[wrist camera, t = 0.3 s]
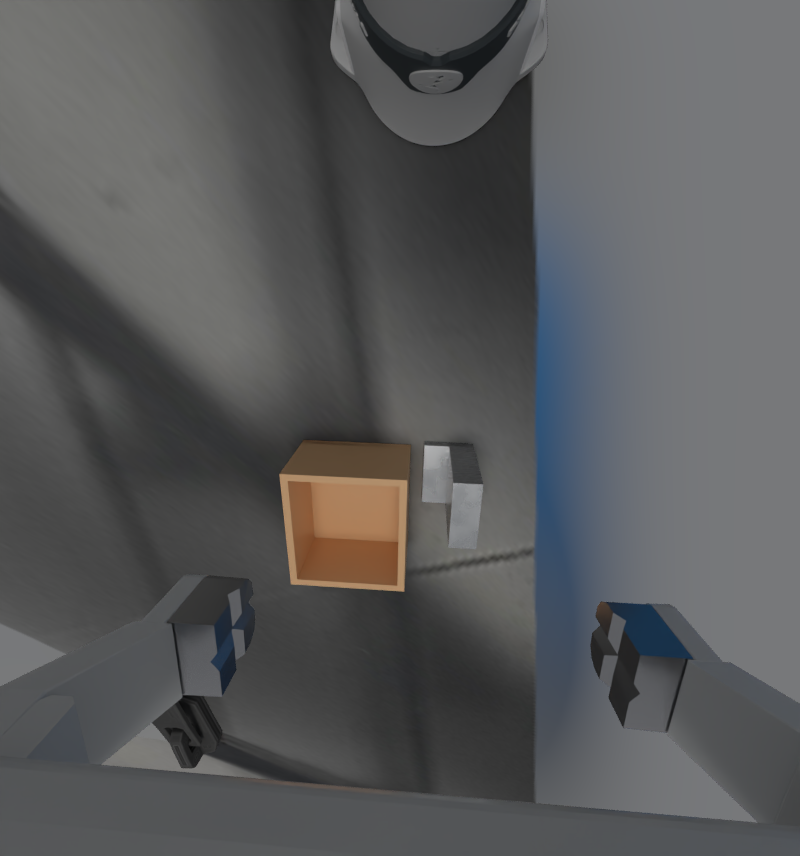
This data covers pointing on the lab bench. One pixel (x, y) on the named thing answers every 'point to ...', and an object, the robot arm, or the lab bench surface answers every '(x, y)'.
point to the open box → (347, 514)
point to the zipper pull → (190, 729)
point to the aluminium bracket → (454, 489)
